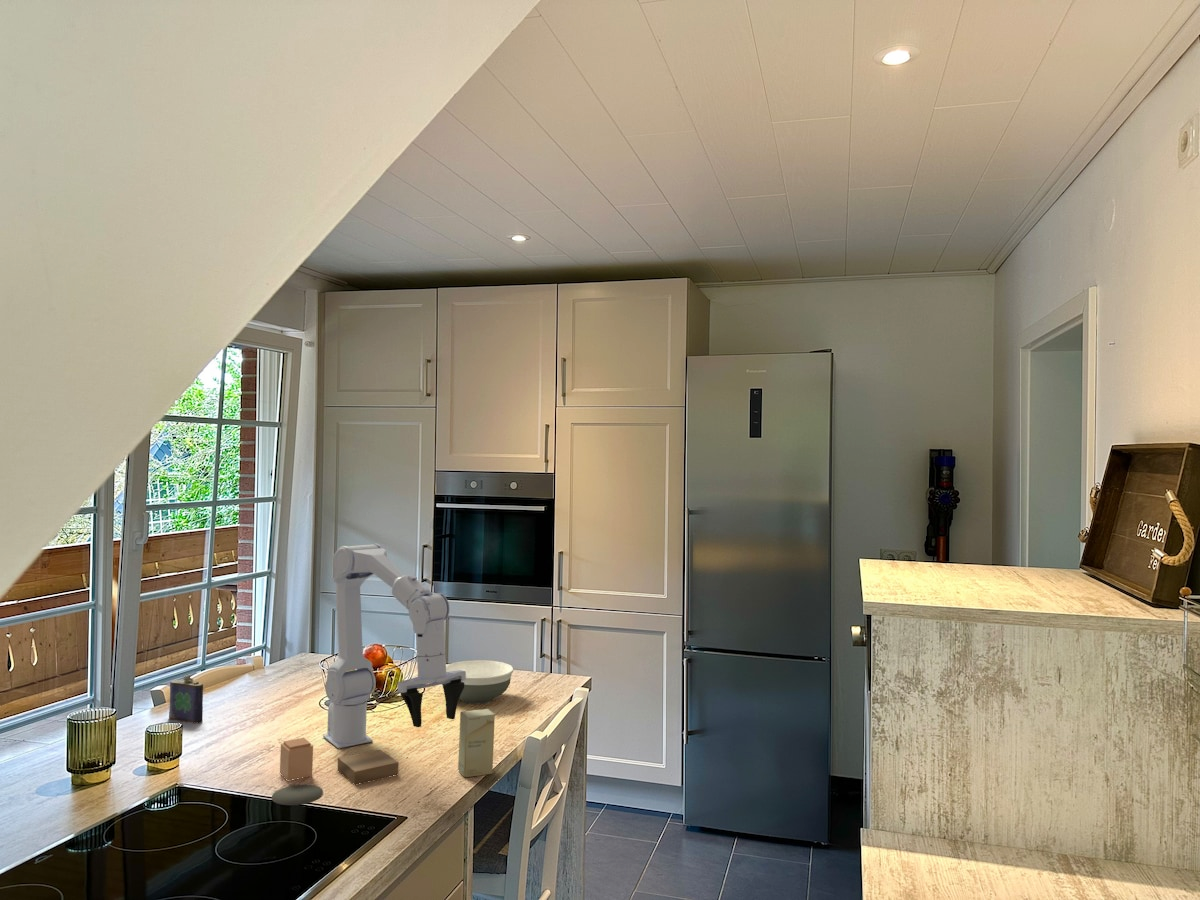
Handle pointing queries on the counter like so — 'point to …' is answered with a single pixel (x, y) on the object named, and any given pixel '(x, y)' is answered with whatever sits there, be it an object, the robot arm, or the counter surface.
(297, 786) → the coaster
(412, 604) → the robot arm
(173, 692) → the flask
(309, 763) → the tall tan wooden block
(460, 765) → the skincare box
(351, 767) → the walnut block
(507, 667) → the bowl
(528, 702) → the counter surface
